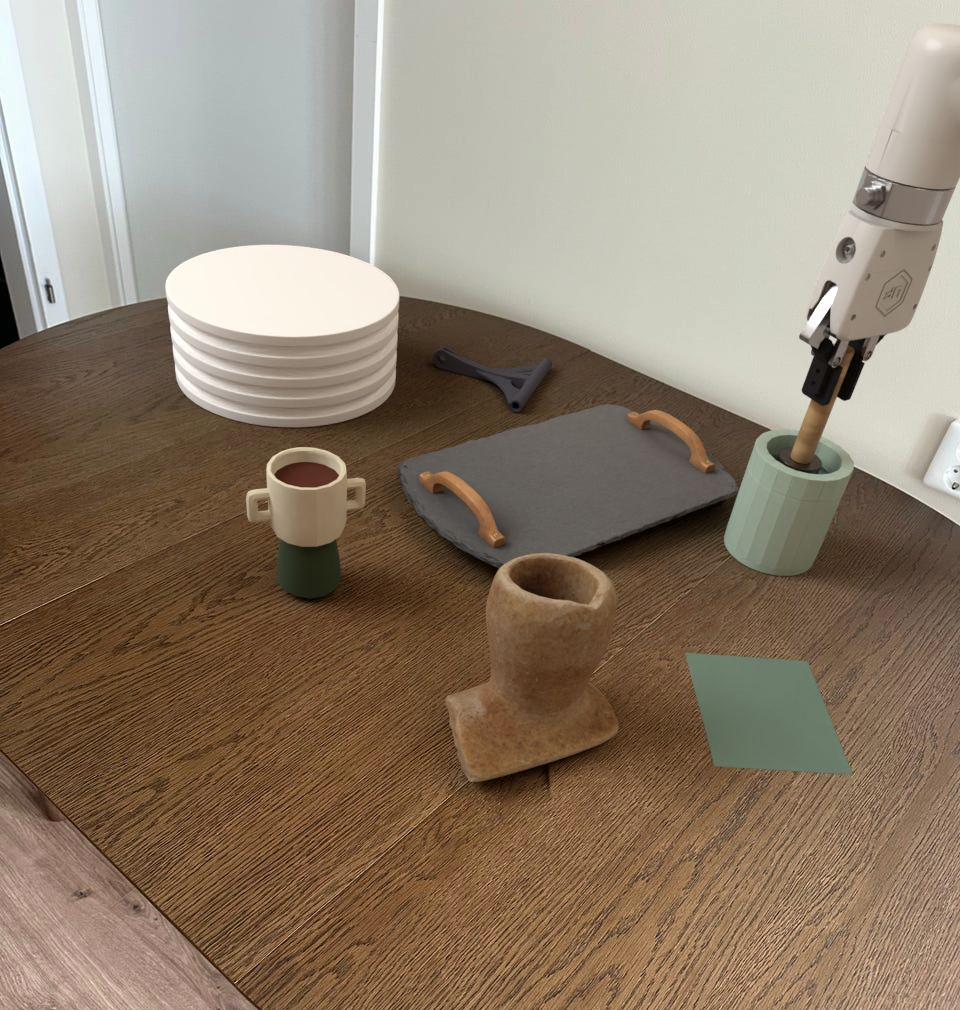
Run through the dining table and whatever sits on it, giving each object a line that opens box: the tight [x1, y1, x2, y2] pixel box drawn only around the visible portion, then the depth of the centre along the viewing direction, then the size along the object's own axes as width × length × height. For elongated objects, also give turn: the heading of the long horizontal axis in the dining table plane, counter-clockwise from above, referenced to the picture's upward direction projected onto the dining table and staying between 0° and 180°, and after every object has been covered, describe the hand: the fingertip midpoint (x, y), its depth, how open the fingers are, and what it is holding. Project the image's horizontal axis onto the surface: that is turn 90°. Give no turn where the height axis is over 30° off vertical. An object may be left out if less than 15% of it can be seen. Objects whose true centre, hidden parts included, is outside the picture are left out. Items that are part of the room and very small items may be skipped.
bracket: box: [432, 346, 553, 413], centre depth 127 cm, size 14×15×3 cm
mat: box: [684, 652, 854, 776], centre depth 84 cm, size 12×14×1 cm
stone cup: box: [444, 553, 619, 783], centre depth 75 cm, size 15×12×15 cm
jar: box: [723, 428, 855, 577], centre depth 100 cm, size 10×10×12 cm
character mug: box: [245, 446, 367, 599], centre depth 87 cm, size 11×7×13 cm, turn 111°
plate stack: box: [164, 244, 400, 428], centre depth 119 cm, size 28×28×12 cm
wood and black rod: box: [777, 343, 855, 474], centre depth 94 cm, size 4×4×16 cm
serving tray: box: [396, 403, 740, 570], centre depth 106 cm, size 39×23×6 cm, turn 126°
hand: (825, 395), depth 92 cm, fingers closed on wood and black rod, 2 cm apart
